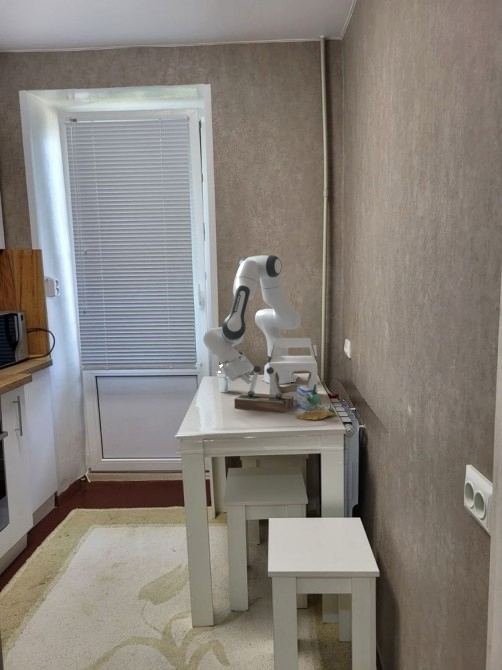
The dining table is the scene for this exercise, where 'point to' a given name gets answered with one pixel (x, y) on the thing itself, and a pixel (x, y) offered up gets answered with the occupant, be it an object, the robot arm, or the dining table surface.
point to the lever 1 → (254, 380)
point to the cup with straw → (222, 379)
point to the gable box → (293, 363)
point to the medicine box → (303, 397)
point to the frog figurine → (317, 414)
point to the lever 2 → (274, 382)
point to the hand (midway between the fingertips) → (250, 382)
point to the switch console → (264, 402)
